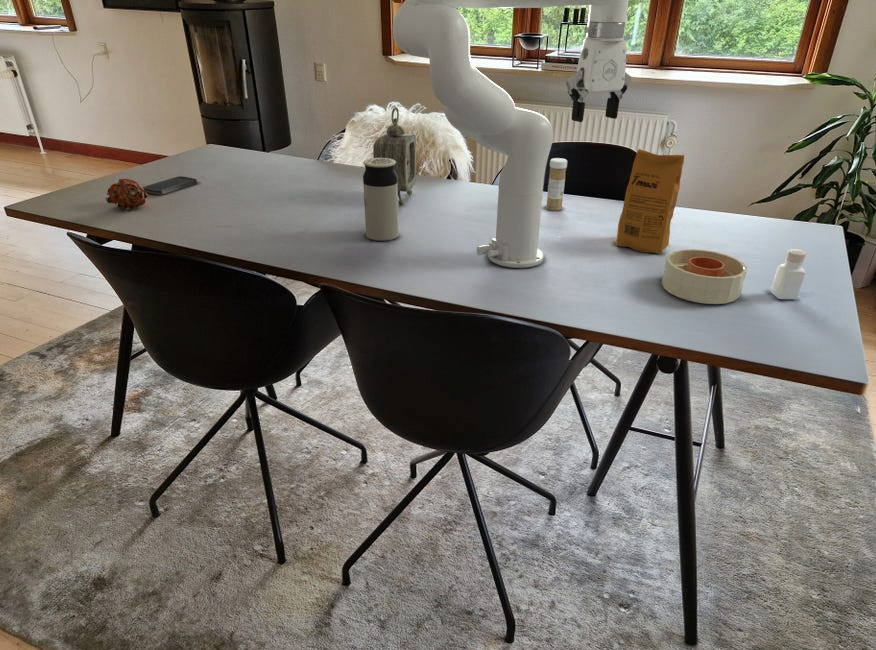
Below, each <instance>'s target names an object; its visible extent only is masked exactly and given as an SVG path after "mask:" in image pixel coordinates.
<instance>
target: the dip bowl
mask: <svg viewBox="0 0 876 650" xmlns="http://www.w3.org/2000/svg"><path fill="white" fill-rule="evenodd" d="M724 268H725V264H724V263H723V262H721V261H719V260H717V259H714V258H709V257H693V258H690V259H689V260H688V264H687V269H686V271H687V272H691V273H694V274H698V275H704V276H711V277H722V276H723V272H724Z"/></svg>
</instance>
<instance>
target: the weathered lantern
mask: <svg viewBox="0 0 876 650" xmlns="http://www.w3.org/2000/svg"><path fill="white" fill-rule="evenodd" d="M395 112H396V117H394V115H395ZM399 112H400V111H399V108H398V107H397V106H394V107H393V108H392V111H391V123H392V124H391V125H390V126H388V127H387V129H386V132H385V134H383V135H381V136H379V137H378V138H376V140H375V141H374V142H373V148H372V150H373V153H372V158H389V159H393V160H395V161H396V164H395V166H394V170H395V172H396V174H397V189H398V206H400V207H402V206H404V205H405V201H404V200H403V199H402V195H401V192H404V193H405V192H406V194H407V195H408V196H411V195H412V194H413V191H412V189H413V187H414V186H415V183H416V180H417V140H416V139H417V138H416V135H415V134H414V133H406V132H405V129H404V127H402V125H399V124H398V122H399V119H400V118H399V117H400V113H399Z"/></svg>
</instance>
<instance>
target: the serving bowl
mask: <svg viewBox="0 0 876 650" xmlns="http://www.w3.org/2000/svg"><path fill="white" fill-rule="evenodd" d="M693 257H709V258H714V259H717V260H719V261H721V262H723V263H724V264H725V268H724V272H723V276H722V277H711V276H704V275H698V274H694V273H691V272H687V271H686V269H687V264H688V260H689V259H690V258H693ZM747 271H748V266H747V265H746V264H745V262H743V261H742V260H739V259H738V258H736V257H733V256H731V255H728V254H726V253H723V252H718V251H713V250H707V249H697V248H696V249H695V248H689V249H688V248H687V249H680V250H674V251H672V252H670V253H669V254H667V256H666V260H665V265H664V270H663V274H662V278H661V285H662V287H663V289H664V290H666V291H667V292H668V293H669V294H671V295H673V296H675V297H678V298H679V299H683V300H684V301H685V300H686V301H688V302H692V303H698V304H705V305H706V304H707V305H720V304H729V303H732V302H735V301H736V300H738V299H739V298H740V297H741V293H742V290H743V287H744V282H745V278H746V275H747Z"/></svg>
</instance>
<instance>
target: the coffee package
mask: <svg viewBox="0 0 876 650" xmlns="http://www.w3.org/2000/svg"><path fill="white" fill-rule="evenodd" d="M684 163H685V155H684V154H657V153H653V152H650V151H647V150H642V149H641V148H638V149H637V150H636V154H635V158H634V160H633V164H632V169H631V173H630V176H629V182H628V185H627V187H626V190H625V196H624V201H623V206H622V210H621V213H620V215H619V219H618V224H617V231H616V238H615V245H616V246H617V247H623V248H630V249H632V250H634V251H636V252H641V253H648V254H649V253H651V254H662V253H663V251H664V250H666V249H667V247H668V246H669V244H670V236H671V221H672V219H673V218H674V213H675V212H674V211H675V208H676V205H677V201H678V196H679V193H680V192H679V191H680V187H681V179H682V174H683V166H684Z"/></svg>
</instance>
